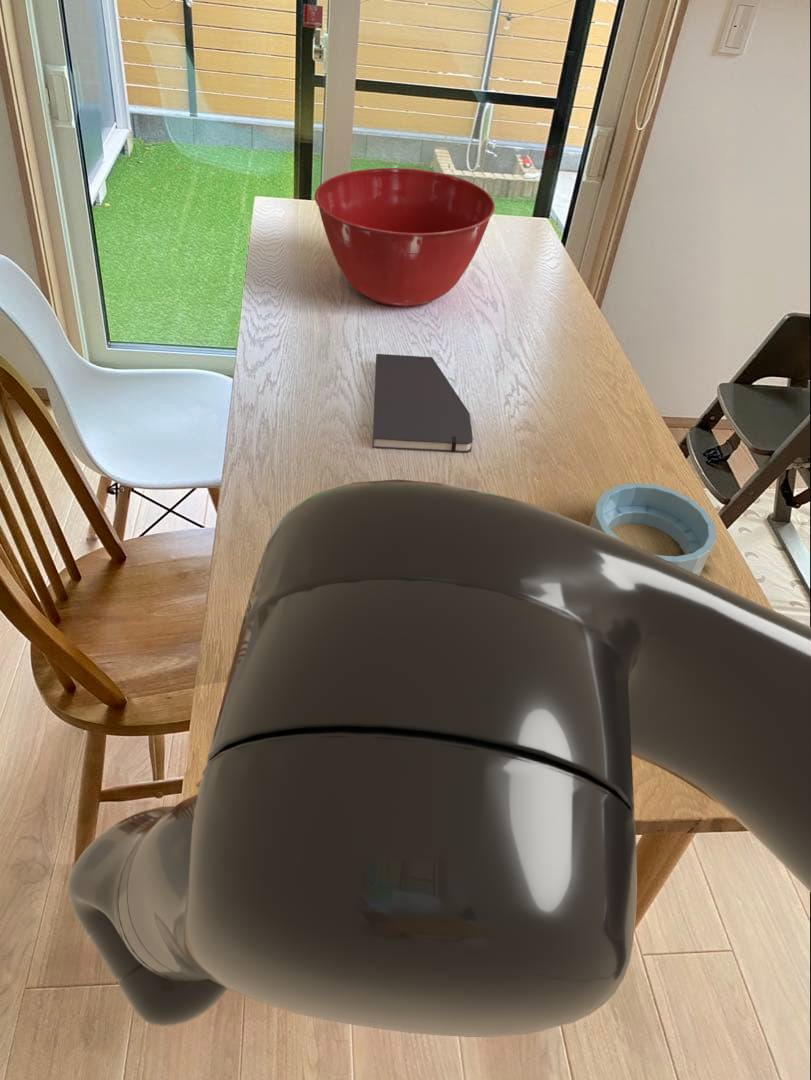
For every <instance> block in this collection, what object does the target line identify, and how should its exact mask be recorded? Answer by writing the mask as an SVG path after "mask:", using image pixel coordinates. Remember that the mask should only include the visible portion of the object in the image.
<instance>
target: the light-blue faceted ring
mask: <svg viewBox="0 0 811 1080" xmlns="http://www.w3.org/2000/svg"><path fill="white" fill-rule="evenodd" d="M629 524H631V525H633V524H634V525H644V526H647V527H651V528H654V529H656V530H659V531H661V532H663V533H665V534H667V535H668V536H669V537H670V538H672V539H673V540H674V541H675V542H676V543H677V544H678V545H679V547H680V549H681V550H682V552H683V555H682V554H681V555H677V556H676V555H674V556H673V555H662V554H661V555H660V554H655V553H651V552H650V553H651V554H653V555H655V556H658V557H660V558H662V559H664V560H666V561H668V562H671V563H673V564H675V565H677V566H679V567H681V568H683V569H685V570H688V571H690V572H692V573H694V574H696V575H698V576H700V575H701V573H702V571H703V569H704V567H705V565H706V562H707V560H708V559H709V556H710V554H711V551H712V549H713V547H714V545H715V542H716V541H717V532H716V525H715V523H714V521H713V520H712V518H711V516H710V515H709V513H708V512H707V511H706V509H704V508H703V507H702V506H701V505H699V504H698V503H697V502H696V501H695V500H694V499H692V498H690V497H688V496H686V495H685V494H683V493H682V492H681V493H680V492H679V491H677V490H675V489H672V488H668V487H665V486H661V485H659V484H656V483H655V484H654V483H642V482H630V483H624V484H623V483H622V484H617V485H615V486H613V487H610V488H609V489H607V490H605V491H604V492H602V494H601V495H600V497H599V498H598V499H597V501H596V502H595V506H594V509H593V513H592V515H591V519H590V522H589V525H588V526H590V527H592V528H595V529H597V530H600V531H602V532H605V533H607V534H609V535H611V536H614V537H616V538H618V539H620V540H622V539H621V538H620V537H619V536H618V535H617V534H616V533H615V532H614V531H613V530H612V529H614V528H617V527H618V526H623V525H629Z"/></svg>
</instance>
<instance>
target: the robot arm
mask: <svg viewBox="0 0 811 1080" xmlns="http://www.w3.org/2000/svg"><path fill="white" fill-rule="evenodd" d="M620 539H621V538H620ZM620 539H618V538H616V537H614V536H611V535H609V534H607V533H605V532H602V531H600V530H597V529H595V528H592V527H590V526H589V525H587V524H585V523H582V522H580V521H577V520H575V519H572V518H570V517H567V516H565V515H564V514H563V515H562V514H560V513H557V512H555V511H552V510H549V509H546V508H544V507H541V506H538V505H536V504H532V503H530V502H527V501H522V500H519V499H515V498H512V497H509V496H504V495H501V494H497V493H493V492H489V491H484V490H481V489H476V488H471V487H467V486H463V485H457V484H449V483H443V482H442V483H440V482H432V481H421V480H407V479H385V480H369V481H368V480H367V481H357V482H356V481H355V482H351V483H347V484H344V485H340V486H337V487H333V488H330V489H326V490H323V491H319V492H317V493H314V494H313V495H311V496H309V497H308V498H306V499H305V500H303V501H302V502H300V503H298V504H297V505H295V506H294V507H292V508H291V509H289V510H288V511H287V512H286V513H285V514H284V515H283V516H282V518H281V519H280V520H279V522H277V524H276V525H275V526H274V528H273V530H271V532H270V535H269V537H268V538H267V541H266V544H265V546H264V548H263V551H262V554H261V556H260V560H259V563H258V566H257V569H256V572H255V575H254V579H253V582H252V587H251V589H250V590H251V591H250V594H249V598H248V601H247V606H246V610H245V613H244V616H243V620H242V623H241V628H240V630H239V634H238V639H237V644H236V648H235V651H234V655H233V659H232V663H231V666H230V670H229V674H228V677H227V681H226V685H225V689H224V693H223V696H222V701H221V704H220V708H219V712H218V716H217V720H216V724H215V728H214V731H213V736H212V739H211V744H210V747H209V749H208V754H207V759H206V760H207V761H206V765H205V768H204V769H203V771H202V777H201V781H200V783H199V785H198V789H197V790H198V791H197V793H195V794H194V795H191V796H190V797H187V798H186V799H184V800H182V801H181V802H179V803H178V804H176V805H175V806H174V805H170V806H169V805H168V806H159V807H155V808H150V809H146V810H144V811H141V812H137V813H134V814H133V815H130V816H128V817H126V818H123V819H122V820H120V821H118V822H117V823H115V824H113V825H112V826H110V827H109V828H107V829H106V830H105V831H103V832H102V833H101V834H99V835H98V836H97V837H96V838H95V839H94V840H93V841H92V842H91V843H90V844H89V845H88V846H87V847H86V848H85V849H84V850H83V852H81V854H80V855H79V857H78V859H77V860H76V861H75V863H74V865H73V867H72V869H71V872H70V874H69V877H68V881H67V896H68V900H69V904H70V906H71V909H72V911H73V913H74V915H75V917H76V919H77V921H78V922H79V924H80V925H81V927H82V929H83V930H84V932H85V933H86V935H87V937H89V940H90V941H91V943H92V944H93V946H94V948H95V949H96V951H97V953H98V954H99V956H100V957H101V959H102V961H104V963H105V965H106V967H107V968H108V970H109V972H110V974H111V975H112V976H113V978H114V980H116V981H117V980H118V981H117V984H118V986H119V988H120V989H121V991H122V993H123V994H124V996H125V998H126V999H127V1001H128V1002H129V1004H130V1006H131V1007H132V1009H133V1010H134V1011H135V1013H136V1014H137V1015H138V1017H140V1018H141V1019H142V1020H143V1021H144V1022H145V1023H147V1024H149V1025H151V1026H157V1027H174V1026H178V1025H182V1024H185V1023H188V1022H190V1021H193V1020H195V1019H197V1018H199V1017H200V1016H201V1015H204V1014H205V1013H206V1012H207V1011H209V1010H210V1009H211V1008H213V1007H214V1006H215V1005H216V1004H217V1003H218V1002H219V1001H220V1000H221V999H222V998H223V997H224V996H225V995H226V994H227V992H228V991H229V990H230V991H233V992H234V993H238V994H240V995H242V996H245V997H247V998H248V999H252V1000H254V1001H257V1002H260V1003H263V1004H265V1005H268V1006H270V1007H274V1008H277V1009H280V1010H285V1011H288V1012H291V1013H294V1014H298V1015H302V1016H307V1017H312V1018H316V1019H318V1020H319V1019H320V1020H323V1021H329V1022H334V1023H341V1024H346V1025H352V1026H358V1027H365V1028H371V1029H378V1030H379V1029H380V1030H385V1031H386V1030H387V1031H393V1032H399V1033H400V1032H401V1033H407V1034H415V1035H416V1034H418V1035H427V1036H442V1037H443V1036H444V1037H461V1038H462V1037H464V1038H495V1037H496V1038H497V1037H507V1036H509V1037H510V1036H520V1035H529V1034H535V1033H539V1032H540V1033H541V1032H544V1031H547V1030H552V1029H555V1028H557V1027H559V1028H560V1027H562V1026H565V1025H570V1024H573V1023H576V1022H578V1021H580V1020H583V1019H584V1018H586V1017H588V1016H590V1015H592V1014H593V1013H595V1012H596V1011H597V1010H598V1009H600V1008H601V1007H603V1006H604V1005H605V1004H606V1003H607V1002H608V1001H609V1000H610V999H611V998H612V997H613V996H614V995H615V994H616V992H617V990H618V988H620V985H621V983H622V982H623V980H624V978H625V976H626V973H627V970H628V968H629V965H630V963H631V956H632V951H633V946H634V937H635V927H636V919H637V918H636V917H637V900H638V899H637V897H638V865H637V864H638V863H637V861H638V860H637V857H638V856H637V835H636V829H637V823H636V819H635V797H634V796H635V795H634V777H633V758H632V757H634V758H637V759H639V760H641V761H644V762H646V763H648V764H651V765H653V766H655V767H657V768H659V769H661V770H663V771H665V772H666V773H668V774H670V775H672V776H674V777H676V778H677V779H680V780H681V781H683V782H685V783H686V784H688V785H689V786H691V787H692V788H693V789H695V790H697V791H699V792H700V793H701V794H703V795H704V796H706V797H707V798H709V799H710V800H711V801H713V802H714V803H715V804H717V805H718V806H719V807H721V808H722V809H723V810H725V811H726V813H728V814H730V815H731V817H733V818H734V819H735V820H736V821H737V822H739V823H740V824H741V825H742V827H744V829H746V830H747V831H748V832H749V833H750V834H751V835H753V837H754V838H755V839H756V840H758V841H759V842H760V843H761V844H762V845H763V847H765V848H766V849H767V850H768V851H769V852H770V853H771V854H772V855H773V856H774V858H776V859H777V860H778V861H779V862H780V863H781V864H782V865H783V866H784V867H785V868H786V869H787V870H788V871H789V872H790V873H791V874H792V875H793V877H795V878H796V879H797V880H798V881H799V882H800V883H801V885H803V887H805V888H806V889H807V890H808V891H809V893H811V626H809V625H807V624H805V623H802V622H800V621H797V620H795V619H794V618H791V617H789V616H787V615H784V614H782V613H781V612H777V611H776V610H774V609H771V608H769V607H767V606H765V605H762V604H760V603H758V602H756V601H753V600H751V599H749V598H747V597H745V596H743V595H741V594H739V593H736V592H735V591H732V590H731V589H728V588H726V587H723V586H721V585H720V584H717V583H715V582H713V581H711V580H709V579H706V577H705V578H704V577H703V576H700V575H699V576H698V575H696V574H694V573H692V572H690V571H688V570H685V569H683V568H681V567H679V566H677V565H675V564H673V563H671V562H668V561H666V560H664V559H662V558H660V557H658V556H655V555H656V554H655V555H653V554H654V553H652V554H651V552H649V551H647V550H644V549H643V548H640V547H638V546H635V545H633V544H631V543H629V542H626V541H624V540H622V539H621V540H620Z"/></svg>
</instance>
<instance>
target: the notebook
mask: <svg viewBox="0 0 811 1080" xmlns="http://www.w3.org/2000/svg"><path fill="white" fill-rule="evenodd" d="M373 399H374V401H373V421H372V422H373V423H372V447H371V448H372V449H385V450H386V449H387V450H405V451H423V452H443V453H462V454H466V453H467V454H468V453H470V452H472V443H473V440H474V439H473V430H472V421H471V414H470V411H469V410H468V409H467V407H466V406H465V404H464V403H463V401H462V400H461V398H460V397H459V395H458V394H457V392H456V390H455V389H454V388H453V386H452V385H451V383H450V382H449V380H448V379H447V377H446V376H445V374H444V373H443V371H442V370H441V368H440V367H439V365H438V364H437V362H436V361H435V360H434V358H433V357H432V356H422V355H421V356H420V355H419V356H418V355H406V354H405V355H404V354H403V355H401V354H387V353H376V354H375V375H374V397H373Z"/></svg>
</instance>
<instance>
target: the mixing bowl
mask: <svg viewBox="0 0 811 1080" xmlns="http://www.w3.org/2000/svg"><path fill="white" fill-rule="evenodd" d="M314 200H315V203H316V204H317V206H318V210H319V214H320V218H321V221H322V225H323V228H324V232H325V235H326V238H327V241H328V245H329V247H330V248H331V249H330V250H331V252H332V254H333V256H334V258H335V260H336V263H337V265H338V267H339V269H340V271H341V272H342V274H343V276H344V277H345V279H346V280H347V281H348V283H349V284H350V285H351V286H352V287H353V289H355V290H356V291H358V292H359V293H360V294H362V295H363V296H365V297H367V298H368V297H369V298H368V299H370V298H371V299H373V300H375V301H377V302H376V303H378V302H379V304H381V303H382V304H381V305H385V306H389V307H397V308H398V307H399V308H412V307H420V306H424V305H426V304H429V303H432V302H433V301H435V300H438V299H440V298H441V297H443V296H445V295H446V294H447V293H449V292H450V291H451V290H452V289H453V288H454V287H455V286H456V285H457V283H458V282H459V281H460V279H461V278H462V277H463V275H464V273H465V272H466V271H467V269H468V267H469V265H470V264H471V262H472V261H473V258H474V257H475V254H476V252H477V251H478V249H479V246H480V245H481V242H482V240H483V238H484V235H485V232H486V230H487V228H488V224H489V223H490V220H491V218H492V216H493V215H494V214H495V213H494V212H495V209H496V205H495V204H496V203H495V201H494V199H493V197H492V196H491V195H490V194H489V193H488V192H487V191H486V190H484V189H483V188H482V187H481V186H478V185H477V184H475V183H473V182H470V181H469V180H466V179H463V178H460V177H457V176H455V175H450V174H446V173H442V172H435V171H432V170H426V169H425V170H424V169H416V168H402V167H380V168H369V169H368V168H367V169H359V170H353V171H349V172H345V173H342V174H338V175H335V176H333V177H331V178H329V179H327V180H325V181H323V182H322V183H320V185H319V186H318V187H317V189H316V191H315V193H314ZM371 299H370V300H371ZM373 300H372V301H373ZM375 301H374V302H375Z"/></svg>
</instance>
